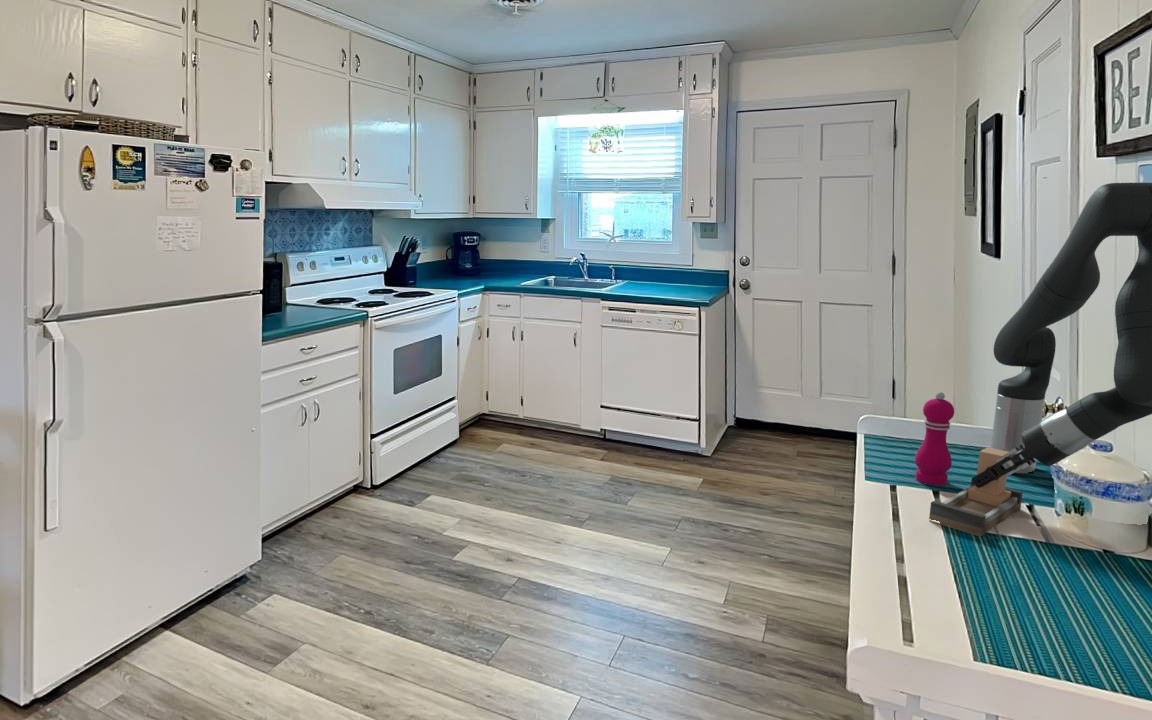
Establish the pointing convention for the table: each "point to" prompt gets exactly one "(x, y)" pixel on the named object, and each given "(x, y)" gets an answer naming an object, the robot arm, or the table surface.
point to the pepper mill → (935, 442)
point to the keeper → (995, 489)
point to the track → (974, 512)
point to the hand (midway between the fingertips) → (980, 480)
